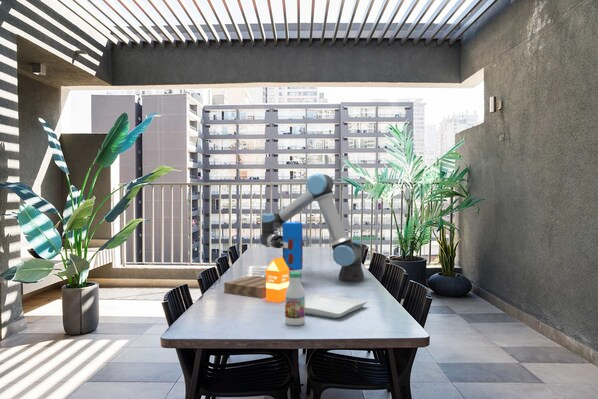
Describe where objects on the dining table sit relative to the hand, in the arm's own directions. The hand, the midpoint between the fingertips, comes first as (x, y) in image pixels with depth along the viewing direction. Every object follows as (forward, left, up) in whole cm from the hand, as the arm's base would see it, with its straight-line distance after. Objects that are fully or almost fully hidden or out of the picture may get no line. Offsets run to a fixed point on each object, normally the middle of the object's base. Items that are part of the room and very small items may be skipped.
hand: (296, 244), depth 254 cm
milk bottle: (-37, +57, -23) cm, 72 cm away
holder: (+42, -18, -24) cm, 51 cm away
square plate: (-37, +32, -24) cm, 54 cm away
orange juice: (-8, +28, -23) cm, 37 cm away
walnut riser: (+12, +18, -23) cm, 32 cm away
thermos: (+4, -2, -14) cm, 14 cm away
